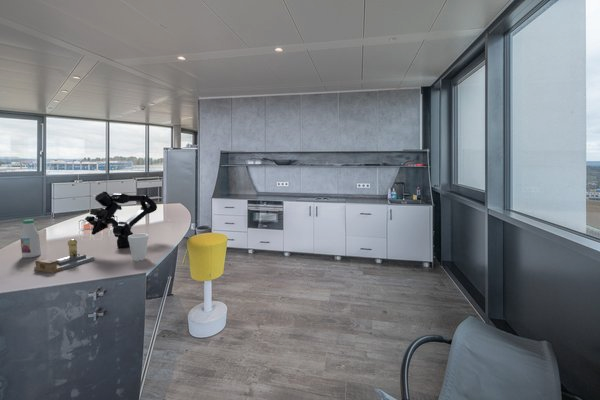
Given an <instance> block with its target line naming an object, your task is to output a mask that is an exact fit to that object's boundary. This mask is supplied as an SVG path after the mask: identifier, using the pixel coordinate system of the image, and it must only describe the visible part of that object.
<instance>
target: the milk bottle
mask: <svg viewBox="0 0 600 400" xmlns="http://www.w3.org/2000/svg"><path fill="white" fill-rule="evenodd" d="M22 225H23V228H22V230H21V233H20V247H21V249H20V250H21V256H22V258H23V259H28V258H35V257H36V258H37V257H39V256H41V254H42V251H41V240H40V232H39V231H38V230H37V228H36V226H35V219H32V218H31V219H30V218H29V219H24V220H22Z"/></svg>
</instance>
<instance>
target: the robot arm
mask: <svg viewBox="0 0 600 400" xmlns="http://www.w3.org/2000/svg"><path fill="white" fill-rule="evenodd" d="M94 200H95V201H96V202H97V203H98V204H100V205H101V206H102V207H105V208H91V209H90V213H89V215H88V216H86V217H85V218H84V220H85V221H86V222H88V224H90V225H91V226H93V228H92V230H91V235H93V236H95V235H96V234H99V233H100V232H101V231H103V230H105V229H108V228H109V225H111V227H112V233H113V234H114V237H115V238H117V239H116V245H117V246H116V247H117V249H125V248H130V245H129V241H128V236H129V235H133V234H134V232H133V231H131V230H132V228H133V227H134V225H136V224H137V223H139V222H140V221H141V220H142V219H143V218H145V216H146V215H149V214H151V213H154V212H156V210H157V209H158V205H157V203H156V202H155V201H154V200H152V199H151V198H150V197H149V196H148V195H146V194H125V193H113V194H112V195H110V194H109V193H108V192H107V191H102V192H101V193H99V194H97V195H96V196H95V198H94ZM129 202H139V203H140V205H141V207H140V209H139V210H138V211H137V212H135V213H134V214H133V215H132V216H130V217H129V218H128V219H127V220H126V221H125V220H124V221H119V222H118V221H117V220H116V219H114V218H115V213H116V212H117V211H118V210H119V211H121V210H122V209H123V208H122V204H127V203H129ZM120 204H121V205H120ZM92 215H93V216H92Z"/></svg>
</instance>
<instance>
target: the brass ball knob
mask: <svg viewBox="0 0 600 400" xmlns="http://www.w3.org/2000/svg"><path fill="white" fill-rule="evenodd" d="M77 245H78V241H77V240H76V239H73V238H72V239H69V240H68V241H67V246H68V254H69V255H68V256H66V257H65V258H64V257H61V258H58V260H57V259H55V260H56V262H57V263H59V262H61V261H64V260H68V259H71V258H74V257H78V255H77V254H78V247H77Z"/></svg>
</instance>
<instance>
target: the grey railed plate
mask: <svg viewBox="0 0 600 400" xmlns="http://www.w3.org/2000/svg"><path fill="white" fill-rule="evenodd" d="M77 255H78V257H74V258H71V259H68V260H64V261H61V262H59V263H57V262H56V260H58V259H59V258H58V259H55V260H52V259H46V258H40V259H36V260H35V266H34V267H33V270H34V271H38V272H43V273H49V274H54V273H58V272H61V271H63V270H67V269H70V268H73V267H76V266H80V265H83V264H85V263H89V262H92V261H95V257H94V256H90V255H87V254H80V253H77ZM63 258H65V257H63Z"/></svg>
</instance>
